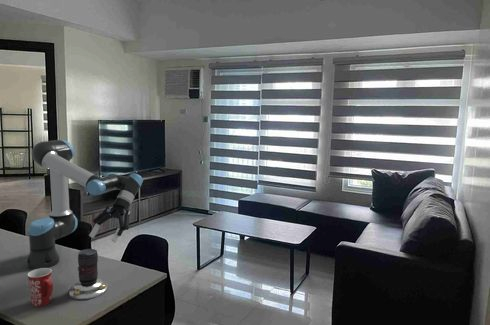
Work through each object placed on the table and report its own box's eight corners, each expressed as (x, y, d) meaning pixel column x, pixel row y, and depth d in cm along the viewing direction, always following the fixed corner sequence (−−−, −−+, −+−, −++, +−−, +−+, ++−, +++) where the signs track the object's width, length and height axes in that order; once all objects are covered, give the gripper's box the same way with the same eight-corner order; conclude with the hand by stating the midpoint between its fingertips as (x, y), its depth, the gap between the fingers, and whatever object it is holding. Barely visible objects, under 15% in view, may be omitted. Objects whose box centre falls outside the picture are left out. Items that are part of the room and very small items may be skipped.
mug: (25, 303, 152) (23, 273, 150) (46, 294, 159) (45, 265, 157) (39, 313, 145) (37, 281, 143) (61, 303, 152) (60, 273, 150)
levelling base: (78, 282, 171) (78, 275, 171) (112, 282, 172) (112, 275, 171) (62, 299, 155) (62, 291, 155) (100, 299, 156) (99, 292, 156)
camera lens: (91, 288, 159) (90, 256, 156) (75, 286, 160) (73, 254, 158) (102, 280, 166) (101, 249, 164) (86, 278, 168) (85, 247, 166)
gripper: (147, 208, 178) (127, 247, 167) (108, 202, 188) (86, 238, 176) (140, 200, 173) (119, 239, 161) (100, 194, 182) (77, 231, 170)
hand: (102, 239), depth 169 cm, fingers open, 13 cm apart
